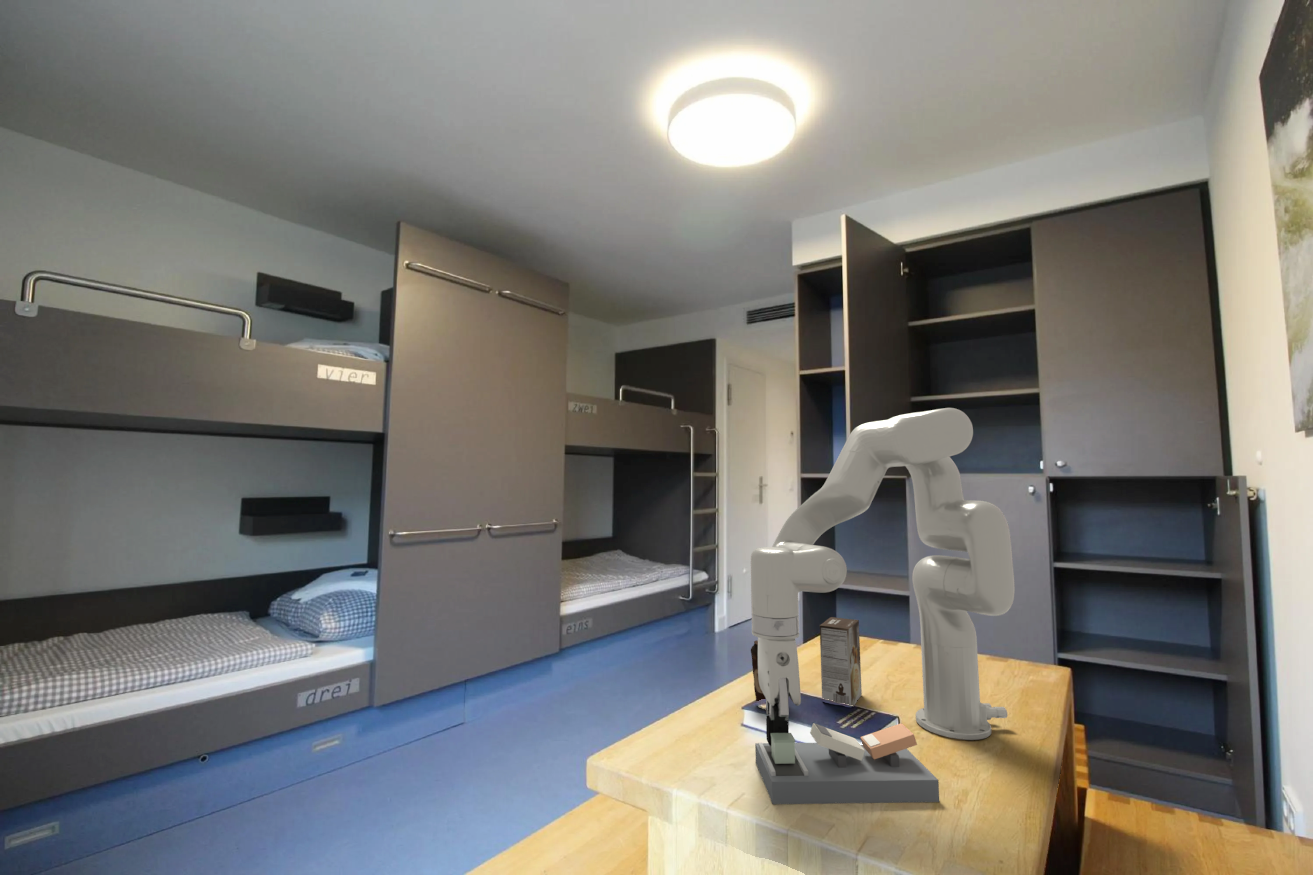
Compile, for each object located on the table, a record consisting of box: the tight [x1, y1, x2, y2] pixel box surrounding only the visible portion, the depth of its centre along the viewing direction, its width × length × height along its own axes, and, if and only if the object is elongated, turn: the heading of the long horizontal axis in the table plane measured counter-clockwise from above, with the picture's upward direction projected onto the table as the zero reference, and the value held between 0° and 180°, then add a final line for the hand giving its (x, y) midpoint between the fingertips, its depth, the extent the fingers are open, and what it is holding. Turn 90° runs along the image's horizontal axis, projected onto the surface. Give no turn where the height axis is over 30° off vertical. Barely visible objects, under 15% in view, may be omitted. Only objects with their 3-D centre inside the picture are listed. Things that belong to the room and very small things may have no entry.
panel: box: [754, 742, 940, 805], centre depth 85 cm, size 24×12×5 cm, turn 91°
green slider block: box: [770, 732, 796, 764], centre depth 84 cm, size 3×2×3 cm
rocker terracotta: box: [860, 722, 918, 759], centre depth 85 cm, size 7×4×2 cm, turn 92°
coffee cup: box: [750, 639, 766, 702], centre depth 114 cm, size 9×8×13 cm
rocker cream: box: [809, 723, 865, 761], centre depth 85 cm, size 7×4×2 cm, turn 91°
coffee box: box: [819, 616, 863, 706], centre depth 118 cm, size 9×6×16 cm
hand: (777, 743), depth 87 cm, fingers closed
